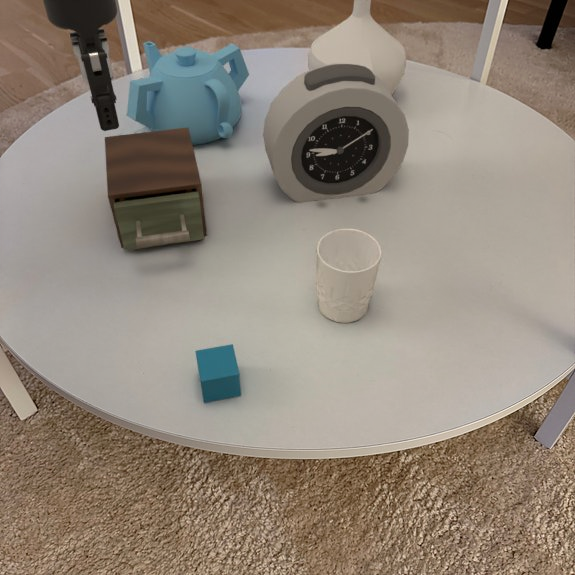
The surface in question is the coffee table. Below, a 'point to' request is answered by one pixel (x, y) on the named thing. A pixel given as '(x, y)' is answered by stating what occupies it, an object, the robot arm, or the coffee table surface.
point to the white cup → (346, 273)
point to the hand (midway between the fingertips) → (105, 110)
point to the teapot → (189, 92)
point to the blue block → (218, 373)
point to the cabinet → (151, 166)
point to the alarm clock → (334, 134)
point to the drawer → (159, 219)
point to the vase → (361, 47)
